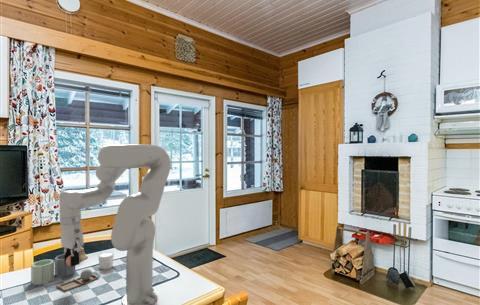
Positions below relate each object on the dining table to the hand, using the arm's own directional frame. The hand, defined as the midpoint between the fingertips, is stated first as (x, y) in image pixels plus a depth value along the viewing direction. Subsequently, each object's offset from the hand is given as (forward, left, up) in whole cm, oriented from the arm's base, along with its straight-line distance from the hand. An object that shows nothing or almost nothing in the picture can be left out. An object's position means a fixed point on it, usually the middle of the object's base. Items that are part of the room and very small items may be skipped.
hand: (72, 263), depth 115 cm
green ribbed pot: (+16, +5, -10) cm, 20 cm away
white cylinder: (+7, -19, -11) cm, 23 cm away
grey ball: (+1, -6, -9) cm, 11 cm away
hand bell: (+31, -18, -11) cm, 37 cm away
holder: (+1, -3, -10) cm, 11 cm away
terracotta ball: (0, 0, -1) cm, 1 cm away
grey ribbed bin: (+16, -4, -10) cm, 20 cm away
